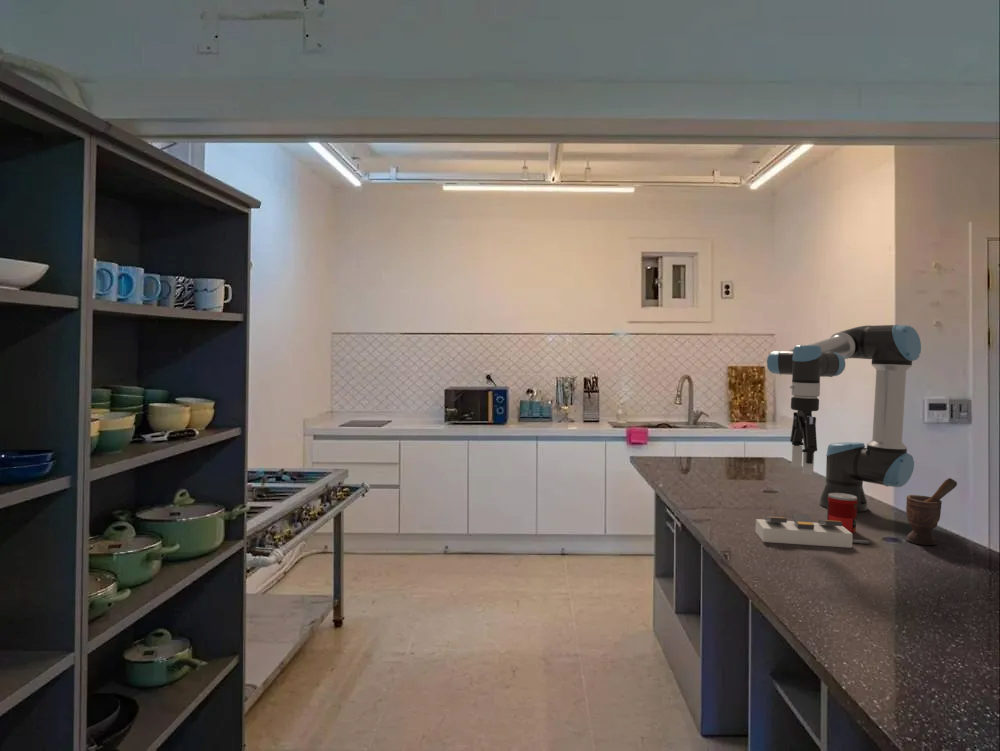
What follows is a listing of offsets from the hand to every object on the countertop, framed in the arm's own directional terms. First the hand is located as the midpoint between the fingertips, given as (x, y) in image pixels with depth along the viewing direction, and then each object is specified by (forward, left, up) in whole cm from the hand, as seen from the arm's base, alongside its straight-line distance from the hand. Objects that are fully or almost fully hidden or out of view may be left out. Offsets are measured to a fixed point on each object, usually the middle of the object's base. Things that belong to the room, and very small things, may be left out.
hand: (802, 470), depth 190 cm
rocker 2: (-7, +3, -15) cm, 17 cm away
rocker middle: (0, +3, -15) cm, 15 cm away
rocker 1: (+8, +3, -15) cm, 17 cm away
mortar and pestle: (-36, -2, -20) cm, 41 cm away
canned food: (-15, -10, -20) cm, 27 cm away
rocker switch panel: (-3, +3, -20) cm, 20 cm away
